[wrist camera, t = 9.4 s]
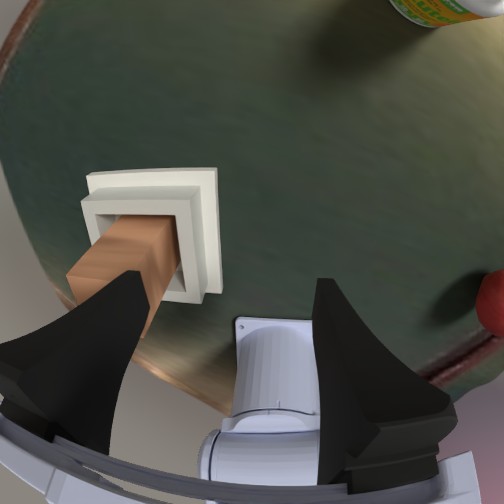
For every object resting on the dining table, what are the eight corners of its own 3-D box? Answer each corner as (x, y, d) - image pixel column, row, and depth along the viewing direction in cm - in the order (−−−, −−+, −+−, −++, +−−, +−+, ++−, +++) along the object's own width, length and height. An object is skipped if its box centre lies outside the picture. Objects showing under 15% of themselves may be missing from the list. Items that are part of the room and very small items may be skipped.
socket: (222, 287, 24) (215, 315, 22) (116, 278, 25) (100, 301, 22) (216, 167, 19) (205, 183, 16) (91, 172, 20) (67, 188, 17)
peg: (180, 260, 22) (143, 338, 15) (134, 256, 22) (87, 327, 16) (174, 212, 20) (126, 282, 13) (125, 211, 20) (65, 275, 14)
